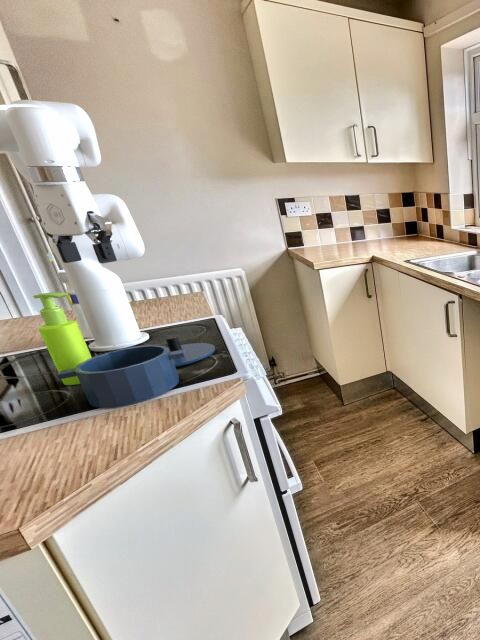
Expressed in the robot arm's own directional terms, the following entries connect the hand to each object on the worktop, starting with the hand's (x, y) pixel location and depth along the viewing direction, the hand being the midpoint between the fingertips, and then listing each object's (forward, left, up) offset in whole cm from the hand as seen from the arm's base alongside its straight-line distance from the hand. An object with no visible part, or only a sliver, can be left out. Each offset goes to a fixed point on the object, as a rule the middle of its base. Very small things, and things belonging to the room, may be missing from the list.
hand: (90, 261), depth 91 cm
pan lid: (-1, +9, -25) cm, 27 cm away
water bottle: (-39, -15, -26) cm, 49 cm away
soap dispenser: (+2, -8, -26) cm, 27 cm away
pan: (+16, +4, -26) cm, 30 cm away
